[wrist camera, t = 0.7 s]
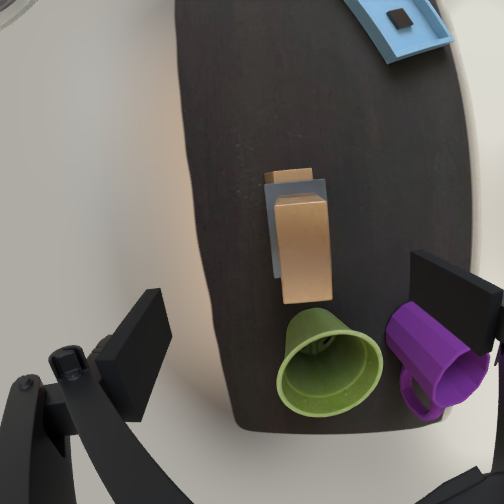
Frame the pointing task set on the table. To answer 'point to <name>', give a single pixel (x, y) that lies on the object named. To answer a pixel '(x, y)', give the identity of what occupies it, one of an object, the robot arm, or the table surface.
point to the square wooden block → (288, 175)
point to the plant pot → (326, 365)
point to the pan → (406, 39)
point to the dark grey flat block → (399, 18)
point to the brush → (300, 239)
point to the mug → (432, 361)
